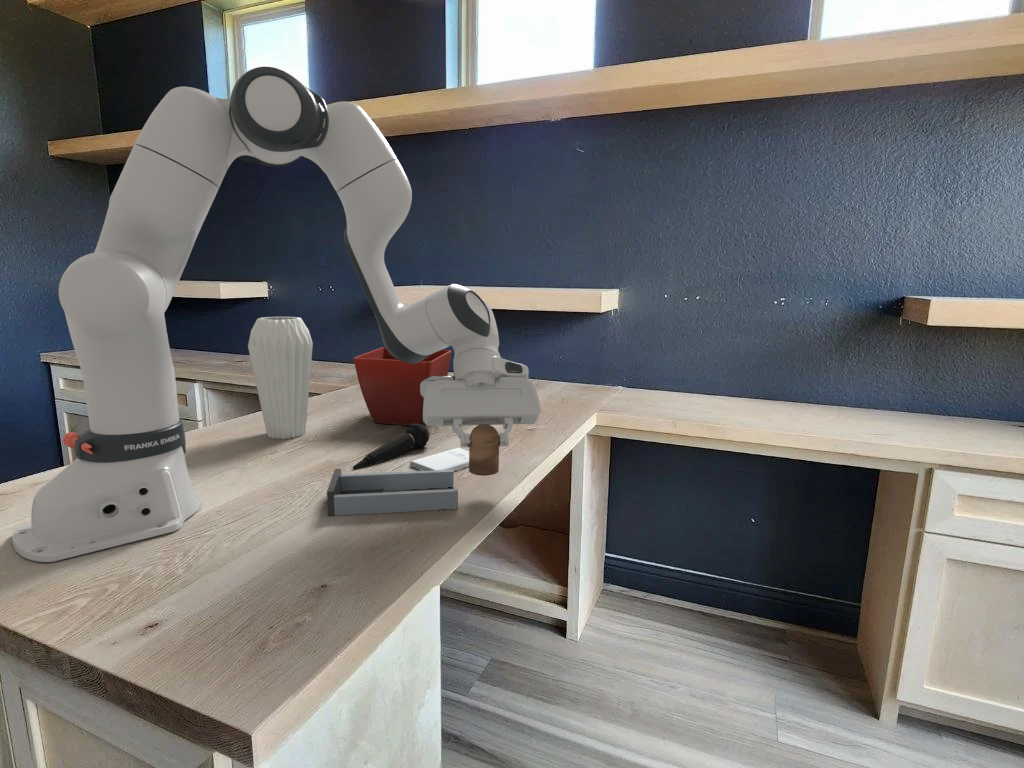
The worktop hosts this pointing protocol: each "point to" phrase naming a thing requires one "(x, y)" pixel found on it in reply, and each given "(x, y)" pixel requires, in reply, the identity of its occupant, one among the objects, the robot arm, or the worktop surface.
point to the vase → (282, 373)
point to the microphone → (398, 445)
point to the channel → (368, 497)
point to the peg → (484, 450)
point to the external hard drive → (443, 460)
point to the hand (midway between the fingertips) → (484, 445)
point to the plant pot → (397, 384)
